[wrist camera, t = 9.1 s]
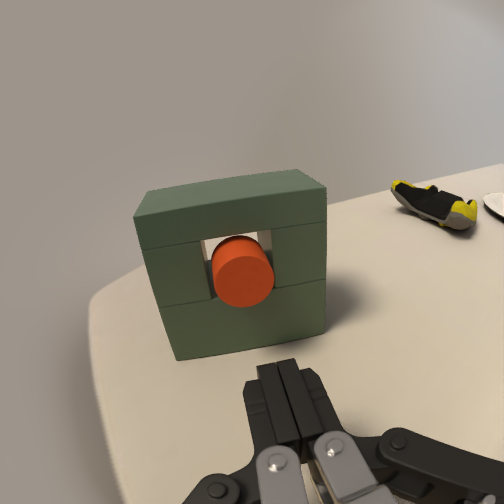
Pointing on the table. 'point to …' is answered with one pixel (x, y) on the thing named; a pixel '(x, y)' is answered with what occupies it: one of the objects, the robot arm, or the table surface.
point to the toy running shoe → (436, 205)
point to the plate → (495, 203)
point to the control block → (226, 224)
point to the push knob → (241, 271)
